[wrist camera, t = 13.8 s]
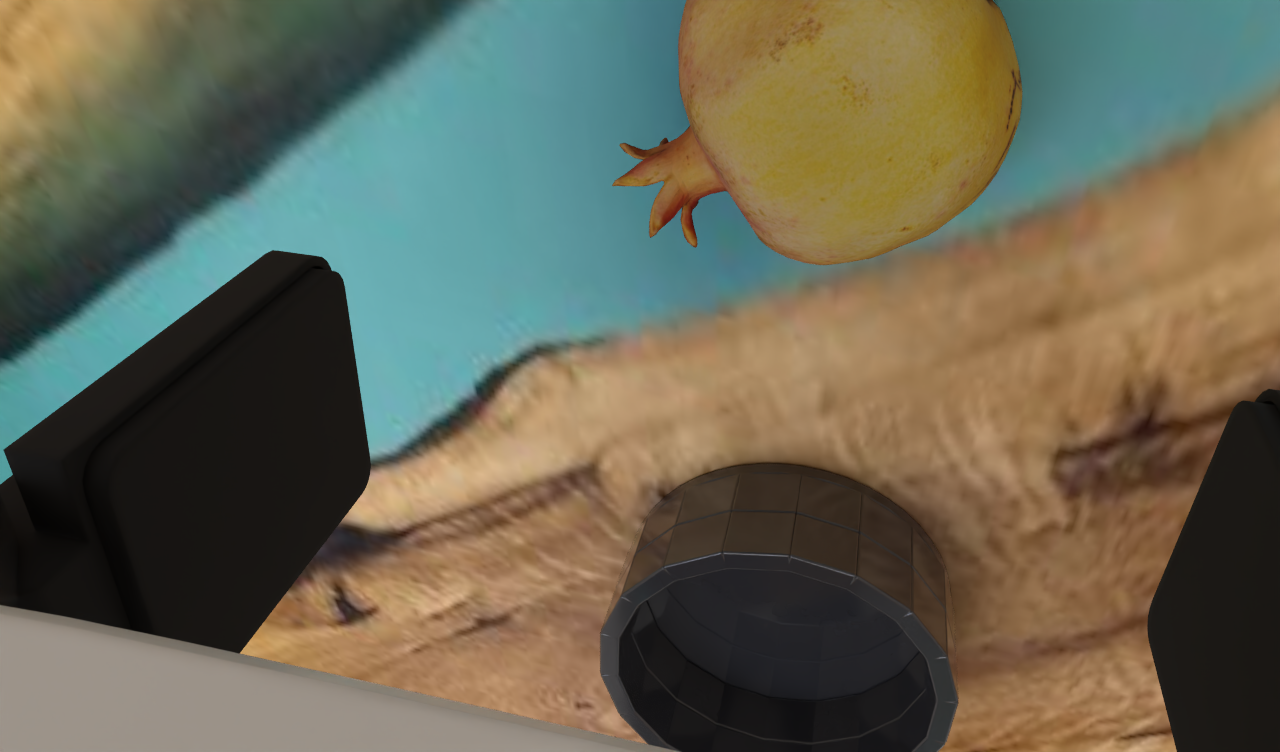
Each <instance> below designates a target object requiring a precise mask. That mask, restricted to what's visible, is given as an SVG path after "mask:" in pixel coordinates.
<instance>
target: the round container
mask: <svg viewBox="0 0 1280 752" xmlns="http://www.w3.org/2000/svg"><path fill="white" fill-rule="evenodd" d="M600 673H601V677H602V679H603V681H604V683H605V685H606V687H607V690H608V692H609V694H610V696H611V698H612V700H613V702H614V704H615V707H616V709H617V711H618V713H619V714H620V716H621V717H622V718H623V719H624V720H625V721H626V722H627V723H628V724H629V725H630V726H631V727H632V728H633V729H634V730H635V731H636V732H637V733H638V734H639V735H640V736H641V737H642V739H643V740H644V741H645V742H646V743H647V744H648V745H653V746H657V747H661V748H666V749H670V750H675V751H679V752H938V751H939V750H940V749H941V748H942V747H943V746H944V745H945V743H946V742H947V739H948V736H949V732H950V729H951V726H952V722H953V719H954V716H955V713H956V709H957V706H958V699H959V697H958V677H957V657H956V636H955V616H954V608H953V603H952V599H951V589H950V583H949V578H948V573H947V571H946V568H945V566H944V563H943V560H942V558H941V556H940V554H939V552H938V551H937V549H936V547H935V545H934V544H933V542H932V541H931V539H930V538H929V537H928V535H927V534H926V533H925V532H924V530H923V529H922V528H921V527H920V525H919V524H918V523H917V522H915V521H914V520H913V519H912V518H911V517H910V516H909V515H908V514H907V513H906V512H905V511H904V510H902V509H901V508H900V507H898V506H897V505H896V504H894V503H893V502H892V501H890V500H889V499H888V498H886V497H884V496H883V495H881V494H879V493H877V492H876V491H874V490H872V489H871V488H869V487H867V486H865V485H862V484H860V483H858V482H855V481H853V480H851V479H849V478H846V477H843V476H840V475H837V474H834V473H830V472H827V471H823V470H819V469H814V468H809V467H804V466H796V465H787V464H751V465H742V466H735V467H730V468H726V469H721V470H717V471H714V472H711V473H708V474H705V475H702V476H700V477H697V478H695V479H693V480H691V481H689V482H687V483H685V484H683V485H681V486H680V487H678V488H677V489H675V490H674V491H672V492H671V493H670V494H668V495H667V496H665V497H664V498H663V499H662V500H661V501H660V502H659V503H658V504H657V505H656V506H655V507H654V508H653V509H652V510H651V512H650V513H649V514H648V516H647V517H646V518H645V520H644V521H643V523H642V525H641V527H640V529H639V531H638V533H637V534H636V537H635V540H634V543H633V544H632V546H631V548H630V550H629V552H628V554H627V557H626V560H625V563H624V565H623V568H622V571H621V574H620V577H619V580H618V583H617V586H616V589H615V591H614V594H613V597H612V600H611V603H610V606H609V609H608V611H607V614H606V617H605V620H604V623H603V626H602V629H601V632H600Z"/></svg>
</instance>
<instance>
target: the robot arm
mask: <svg viewBox="0 0 1280 752" xmlns="http://www.w3.org/2000/svg"><path fill="white" fill-rule="evenodd" d="M4 452H5V455H6V457H7V460H8V463H9V465H10V468H11V470H12V473H13V475H12V476H11V477H9V478H8V479H7V480H6V481H4V482H3V483H2V484H1V485H0V752H679V751H675V750H670V749H666V748H661V747H657V746H653V745H648V744H644V743H639V742H635V741H631V740H626V739H622V738H617V737H613V736H608V735H604V734H600V733H595V732H591V731H586V730H582V729H577V728H573V727H568V726H564V725H560V724H555V723H551V722H546V721H542V720H537V719H533V718H528V717H524V716H519V715H515V714H511V713H506V712H502V711H497V710H493V709H488V708H484V707H479V706H475V705H470V704H466V703H462V702H457V701H453V700H448V699H444V698H439V697H435V696H430V695H426V694H421V693H417V692H412V691H408V690H403V689H399V688H394V687H389V686H385V685H380V684H376V683H371V682H367V681H362V680H358V679H353V678H348V677H344V676H339V675H335V674H330V673H326V672H321V671H316V670H312V669H307V668H303V667H298V666H294V665H289V664H285V663H280V662H275V661H271V660H266V659H262V658H257V657H253V656H248V655H244V654H239V653H240V652H241V651H242V650H243V648H244V647H245V646H246V644H247V643H248V642H249V640H250V639H251V638H252V637H253V635H254V634H255V633H256V631H257V630H258V629H259V627H260V626H261V625H262V623H263V622H264V621H265V620H266V618H267V617H268V616H269V614H270V613H271V612H272V610H273V609H274V608H275V607H276V605H277V604H278V603H279V601H280V600H281V599H282V597H283V596H284V595H285V594H286V592H287V591H288V590H289V588H290V587H291V586H292V584H293V583H294V582H295V580H296V579H297V578H298V577H299V575H300V574H301V573H302V571H303V570H304V569H305V567H306V566H307V565H308V564H309V562H310V561H311V560H312V558H313V557H314V556H315V554H316V553H317V552H318V551H319V549H320V548H321V547H322V545H323V544H324V543H325V541H326V540H327V539H328V537H329V536H330V535H331V534H332V532H333V531H334V530H335V528H336V527H337V526H338V524H339V523H340V522H341V521H342V519H343V518H344V517H345V515H346V514H347V513H348V511H349V510H350V509H351V508H352V506H353V505H354V504H355V502H356V501H357V500H358V498H359V497H360V496H361V495H362V493H363V491H364V490H365V488H366V485H367V483H368V480H369V476H370V468H371V463H370V454H369V447H368V441H367V434H366V427H365V420H364V414H363V407H362V400H361V393H360V387H359V380H358V373H357V366H356V359H355V353H354V346H353V339H352V332H351V326H350V319H349V312H348V305H347V299H346V292H345V286H344V282H343V279H342V277H341V275H340V274H339V273H337V272H335V271H332V270H331V267H330V266H329V264H328V262H327V261H326V260H325V259H324V258H322V257H319V256H312V255H304V254H297V253H290V252H283V251H274V250H273V251H270V252H268V253H266V254H265V255H263V256H262V257H261V258H259V259H258V260H257V261H255V262H254V263H253V264H251V265H250V266H249V267H247V268H246V269H245V270H243V271H242V272H241V273H239V274H238V275H237V276H235V277H234V278H233V279H231V280H230V281H229V282H227V283H226V284H225V285H223V286H222V287H221V288H219V289H218V290H217V291H215V292H214V293H213V294H211V295H210V296H209V297H207V298H206V299H205V300H203V301H202V302H201V303H199V304H198V305H197V306H195V307H194V308H193V309H191V310H190V311H189V312H187V313H186V314H185V315H183V316H182V317H180V318H179V319H178V320H176V321H175V322H174V323H172V324H171V325H170V326H168V327H167V328H166V329H164V330H163V331H162V332H160V333H159V334H158V335H156V336H155V337H154V338H152V339H151V340H150V341H148V342H147V343H146V344H144V345H143V346H142V347H140V348H139V349H138V350H136V351H135V352H134V353H132V354H131V355H130V356H128V357H127V358H126V359H124V360H123V361H122V362H120V363H119V364H118V365H116V366H115V367H114V368H112V369H111V370H110V371H108V372H107V373H106V374H104V375H103V376H102V377H100V378H99V379H98V380H96V381H95V382H94V383H92V384H91V385H90V386H88V387H87V388H86V389H84V390H83V391H82V392H80V393H79V394H78V395H76V396H75V397H74V398H72V399H71V400H70V401H68V402H67V403H66V404H64V405H63V406H62V407H60V408H59V409H58V410H56V411H55V412H53V413H52V414H51V415H49V416H48V417H47V418H45V419H44V420H43V421H41V422H40V423H39V424H37V425H36V426H35V427H33V428H32V429H31V430H29V431H28V432H27V433H25V434H24V435H23V436H21V437H20V438H19V439H17V440H16V441H15V442H13V443H12V444H11V445H9V446H8V447H7V448H5V449H4ZM1148 638H1149V643H1150V647H1151V651H1152V655H1153V659H1154V663H1155V667H1156V671H1157V675H1158V679H1159V683H1160V686H1161V690H1162V694H1163V698H1164V702H1165V706H1166V710H1167V714H1168V718H1169V722H1170V726H1171V730H1172V734H1173V737H1174V741H1175V745H1176V749H1177V752H1280V391H1279V390H1272V389H1268V390H1266V391H1264V392H1262V393H1261V395H1260V396H1259V397H1258V398H1257V399H1256V401H1255V402H1250V401H1241V402H1239V403H1238V404H1237V405H1236V406H1235V407H1234V409H1233V411H1232V413H1231V415H1230V417H1229V419H1228V422H1227V424H1226V426H1225V429H1224V431H1223V434H1222V436H1221V438H1220V441H1219V443H1218V445H1217V448H1216V450H1215V453H1214V455H1213V457H1212V460H1211V462H1210V464H1209V467H1208V469H1207V472H1206V474H1205V476H1204V479H1203V481H1202V484H1201V486H1200V488H1199V491H1198V493H1197V495H1196V498H1195V500H1194V503H1193V505H1192V507H1191V510H1190V512H1189V514H1188V517H1187V519H1186V522H1185V524H1184V526H1183V529H1182V531H1181V533H1180V536H1179V538H1178V541H1177V543H1176V545H1175V548H1174V550H1173V552H1172V555H1171V557H1170V560H1169V562H1168V564H1167V567H1166V569H1165V571H1164V574H1163V576H1162V579H1161V581H1160V583H1159V586H1158V588H1157V590H1156V593H1155V595H1154V598H1153V600H1152V603H1151V606H1150V610H1149V615H1148Z"/></svg>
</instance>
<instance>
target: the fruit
mask: <svg viewBox="0 0 1280 752" xmlns="http://www.w3.org/2000/svg"><path fill="white" fill-rule="evenodd" d="M678 55H679V85H680V93H681V97H682V100H683V103H684V106H685V110H686V113H687V116H688V119H689V123H690V127H689V128H688V129H687V130H686V131H685V132H684V133H683V134H682V135H681V136H679V137H678V138H677V139H675V140H673V141H671V142H668V139H667V138H664V139H663V140H662V141H661V142H660V145H659V146H658V147H655V148H652V149H649V150H642V149H639V148H636V147H634V146H630V145H628V144H626V143H622V144H620V147H621V148H622V149H623V150H624V152H626V153H628V154H629V155H631V156H632V157H634V158H637V159H642V160H643V161H641V162H640V163H639V164H637V165H636V166H635V167H634V168H633V169H631V170H630V171H629V172H627V173H626V174H625V175H623V176H622V177H620V178H618V179H617V180H615V182H614V183H613V185H612V186H647V185H651V184H654V183H657V182H660V181H664V185H663V187H662V188H661V190H660V192H659V193H658V195H657V197H656V198H655V201H654V204H653V207H652V209H651V215H650V222H649V234H650V238H651V237H652V236H654V235H655V234H657V232H658V231H659V230H660V229H661V228H662V227H663V226H665V225H666V224H667V223H668V222H669V221H670V220H671V219H672V218H673V217H674V216H675V215H676V214H677V212H678V211H679V210H680V209H681V208H682V213H681V224H682V229H683V233H684V237H685V238H686V240H687V242H688V243H689V244H691V245H692V246H693V247H695V248H696V247H697V237H696V233H695V229H694V225H693V220H692V210H693V209H694V208H695V207H696V206H697V204H698V200H699V199H700V198H702V197H705V196H707V195H709V194H713V193H717V192H722V191H728V192H729V194H730V195H731V197H732V199H733V200H734V202H735V203H736V204H737V206H738V207H739V209H740V210H741V212H742V213H743V215H744V216H745V218H746V219H747V221H748V222H749V224H750V225H751V227H752V229H753V230H754V232H755V233H756V235H757V236H758V238H759V239H760V240H761V241H762V242H763V243H764V244H765V245H766V246H768V247H769V248H771V249H772V250H774V251H775V252H777V253H779V254H781V255H783V256H785V257H788V258H790V259H794V260H797V261H801V262H804V263H809V264H816V265H830V264H839V263H846V262H853V261H858V260H863V259H869V258H872V257H875V256H878V255H881V254H884V253H886V252H889V251H891V250H893V249H895V248H898V247H900V246H902V245H905V244H908V243H910V242H913V241H915V240H918V239H921V238H923V237H926V236H928V235H929V234H931V233H933V232H934V231H936V230H938V229H939V228H940V227H942V226H943V225H944V224H946V223H947V222H948V221H950V220H951V219H953V218H954V217H955V216H957V215H958V214H959V213H961V212H962V211H963V210H965V209H966V208H967V207H969V206H970V205H971V204H972V203H973V202H974V201H975V200H976V199H977V198H978V197H979V196H980V195H981V194H982V193H983V191H984V190H985V189H986V187H987V186H988V185H989V184H990V182H991V181H992V179H993V178H994V177H995V175H996V174H997V172H998V170H999V168H1000V166H1001V164H1002V163H1003V161H1004V159H1005V157H1006V155H1007V152H1008V150H1009V147H1010V145H1011V143H1012V140H1013V138H1014V135H1015V132H1016V129H1017V126H1018V123H1019V120H1020V113H1021V105H1022V85H1021V77H1020V70H1019V65H1018V61H1017V57H1016V53H1015V49H1014V45H1013V41H1012V38H1011V35H1010V33H1009V30H1008V27H1007V24H1006V22H1005V19H1004V17H1003V15H1002V12H1001V10H1000V8H999V7H998V6H997V5H996V4H995V3H994V1H993V0H687V1H686V4H685V8H684V12H683V16H682V21H681V26H680V33H679V43H678Z"/></svg>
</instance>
